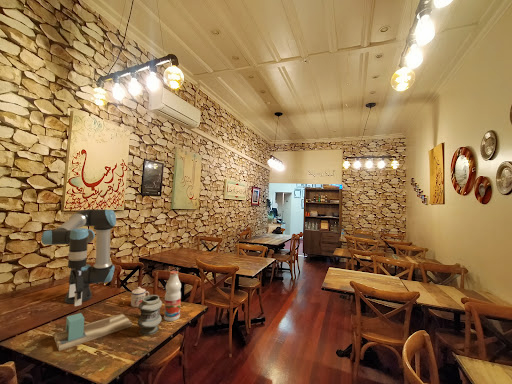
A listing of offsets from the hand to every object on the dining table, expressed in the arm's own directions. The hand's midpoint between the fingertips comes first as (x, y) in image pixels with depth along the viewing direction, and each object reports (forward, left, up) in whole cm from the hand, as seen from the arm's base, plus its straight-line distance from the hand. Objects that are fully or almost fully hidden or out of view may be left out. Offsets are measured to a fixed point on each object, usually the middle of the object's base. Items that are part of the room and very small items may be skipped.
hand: (74, 301), depth 119 cm
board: (-1, +10, -19) cm, 22 cm away
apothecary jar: (+18, +31, -20) cm, 41 cm away
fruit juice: (+13, +47, -20) cm, 52 cm away
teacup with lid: (-20, +41, -20) cm, 49 cm away
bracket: (0, +1, -17) cm, 17 cm away
